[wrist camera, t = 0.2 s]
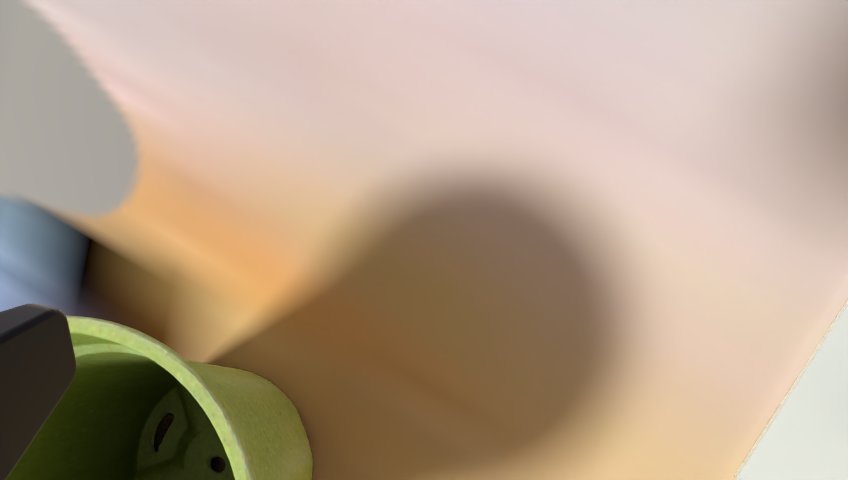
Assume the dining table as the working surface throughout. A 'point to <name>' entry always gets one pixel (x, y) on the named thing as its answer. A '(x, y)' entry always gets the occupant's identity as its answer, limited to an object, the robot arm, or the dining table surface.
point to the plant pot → (146, 406)
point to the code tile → (809, 419)
